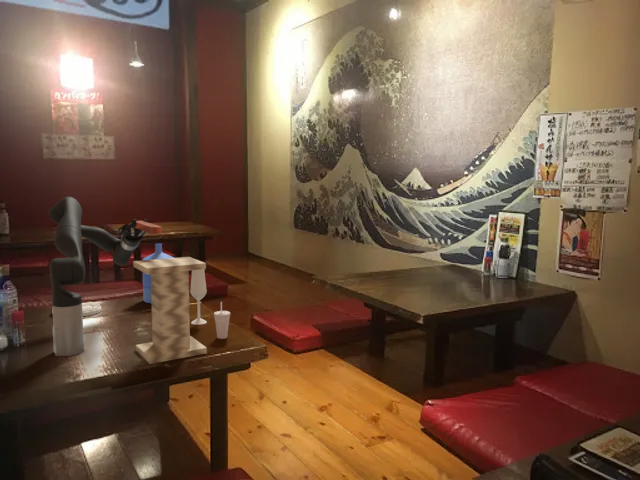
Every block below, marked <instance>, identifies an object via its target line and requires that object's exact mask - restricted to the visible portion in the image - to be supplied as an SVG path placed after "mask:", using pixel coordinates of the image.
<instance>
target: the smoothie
mask: <svg viewBox="0 0 640 480" xmlns="http://www.w3.org/2000/svg"><path fill="white" fill-rule="evenodd" d="M230 316H231V312H230V311H228V310H223V301H220V310H219V311H218V310H217V311H214V313H213V317H214V322H215V329H216V330H215V331H216V336H217V339H219V340H223V339H224V340H225V339H227V338H228V333H229V325H230V324H229V323H230V318H231V317H230Z"/></svg>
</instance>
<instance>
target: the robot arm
mask: <svg viewBox="0 0 640 480" xmlns="http://www.w3.org/2000/svg"><path fill="white" fill-rule="evenodd" d="M48 215H49V218H50V220H52V221H53V222H54V223H55V224H56V225H57V226H56V228H55V231H54V246H55V247H56V249H57V250H58V252H59V253H61V254H62V255H63V256H65V257H57V258H56V257H55V258H52V259H51V260H50V263H49V276H50V285H51V286H50V287H51V298H52V299H51V301H52V302H51V304H52V309H53V313H52V321H53V323H52V324H53V325H52V343H53V344H52V345H53V346H52V347H53V348H52V349H53V353H54V355H55V357H70V356H75V355H79V354H81V353H83V352H84V351H85V343H84V342H85V341H84V321H83V319H84V318H83V317H84V316H82V303H83V299H82V298H83V297H82V294H80V293H78V292H73V291H69V290H67V289H65V288H64V287H63V286H66V285H67V286H69V285H78V284H82V283H83V282H84V281H85V278H86V265H85V260H84V255H83V238H84V239H86V240H88V241H90V242H91V243H93V244H94V245H96V246H97V247H98V248H100V249H102V250H103V251H104V252H107V253H108V252H111V251H113V250H114V249H115V251H114V253H113V255H112V261H113V262H114V264H116V265H118V266H125V265H127V264H129V262H130V259H131V257H132V255H133V253H134V251H136V248H137V247H138V246H139V245H140V243H141V241H142V240H143V237H144V236H145V234H146V233H148V232H145V231H142V230H139V229H136V228H135V226H136V224H137V223H136V222H137V221H138V220H137V219H135V218H134V219H133V220H132V221H131V222H130V223H125V224H123V225H122V226H120V227H119V228H118V229H117V230H118V231H117V232H118V235H119V236H121V238H120V239H119V238H118V237H115V236H114V235H112V234H110V232H108V231H107V230H105V229H103V228H100V227H96V226H89V225H84V224H82V217H83V209H82V206H81V204H80V202H79V201H78V200H77V199H76V198H74V197H72V196H65V197H63V198H62V199H60V200H58V202H56V203H55V204H54V205H52V207H51V208H50V209H49V210H48ZM143 221H144V222H148V223H149V221H148V219H147V218H144V219H143ZM148 234H150V233H148ZM150 235H151V234H150Z"/></svg>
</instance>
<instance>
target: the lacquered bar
mask: <svg viewBox="0 0 640 480" xmlns="http://www.w3.org/2000/svg"><path fill="white" fill-rule="evenodd" d="M136 221H137V222H136V223H137V224H136V226H135V228H136V229H139V230H142V231H145V232H147V233H148V234H149V233H150V235H151V234H152V235H158V234H159V235H161V234H163V229H162V228H163V227H162V226H160V225H157V224H153V223H151V222H149V221H148V222H144V220H136Z"/></svg>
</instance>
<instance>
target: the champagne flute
mask: <svg viewBox="0 0 640 480" xmlns="http://www.w3.org/2000/svg"><path fill="white" fill-rule="evenodd" d="M205 271H206V270H205V269H201V270H191V280H190V289H189V294H190V295H191V296H192V298H193V299H195V300H196V303H197V305H196V306H197V308H196V309H197V313H196V315H197V317H196V318H195V319H194V320H192V321H191V322H190V323H191V324H190V325H206V324H207V323H208V322H207V320H205V319H203V318H201V300H202V299H203V298H204V297H205V296H206V295H207V291H208V289H207V282H206V273H205Z"/></svg>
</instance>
